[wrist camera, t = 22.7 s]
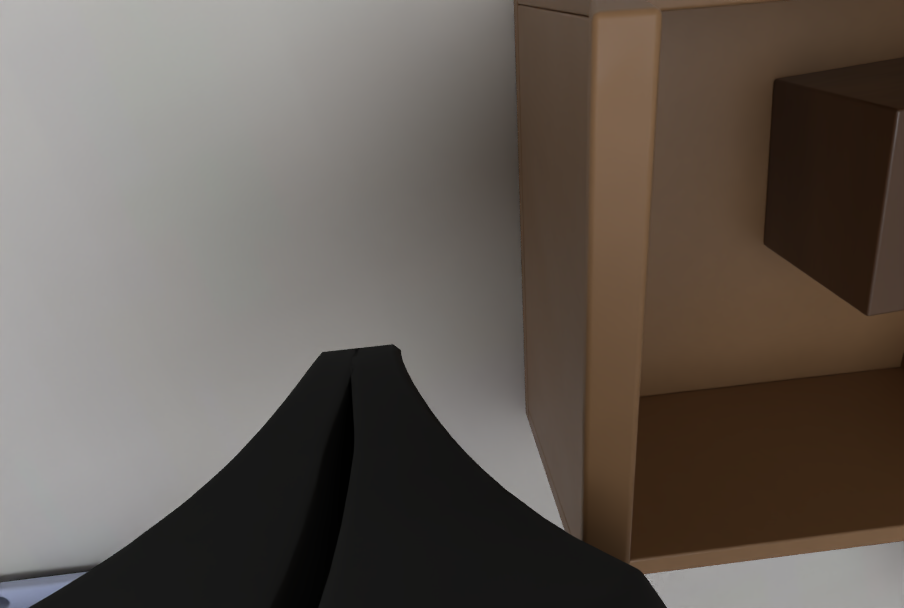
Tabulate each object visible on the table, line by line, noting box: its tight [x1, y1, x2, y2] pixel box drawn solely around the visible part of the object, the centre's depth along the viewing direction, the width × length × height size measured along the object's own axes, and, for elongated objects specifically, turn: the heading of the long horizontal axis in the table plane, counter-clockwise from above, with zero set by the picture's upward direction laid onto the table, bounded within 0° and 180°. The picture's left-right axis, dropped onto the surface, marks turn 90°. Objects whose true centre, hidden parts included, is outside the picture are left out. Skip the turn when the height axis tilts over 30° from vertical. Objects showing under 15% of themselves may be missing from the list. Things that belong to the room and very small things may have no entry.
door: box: [580, 0, 662, 565], centre depth 9 cm, size 6×12×1 cm
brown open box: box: [514, 0, 904, 574], centre depth 15 cm, size 12×12×6 cm
